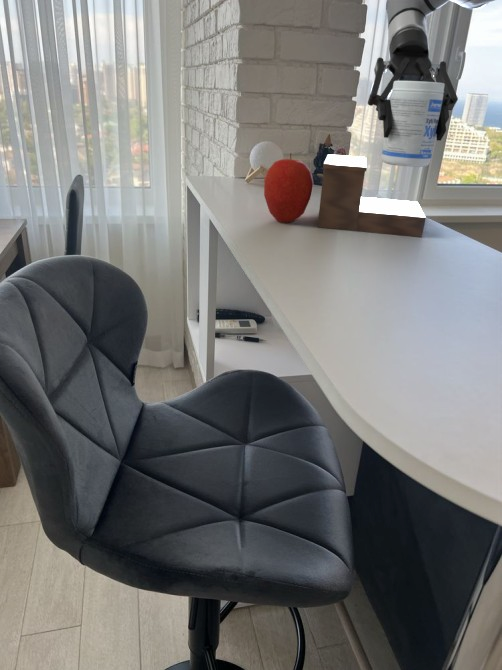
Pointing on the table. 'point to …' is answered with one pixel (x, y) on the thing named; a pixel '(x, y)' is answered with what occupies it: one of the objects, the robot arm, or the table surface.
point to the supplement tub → (413, 123)
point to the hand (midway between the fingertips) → (414, 134)
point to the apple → (288, 189)
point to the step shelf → (362, 202)
